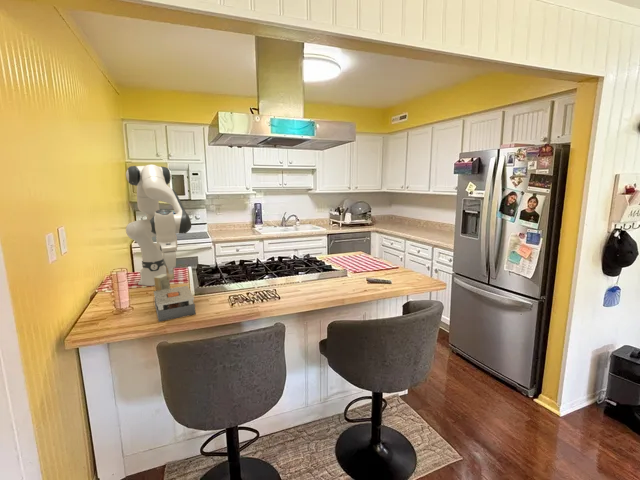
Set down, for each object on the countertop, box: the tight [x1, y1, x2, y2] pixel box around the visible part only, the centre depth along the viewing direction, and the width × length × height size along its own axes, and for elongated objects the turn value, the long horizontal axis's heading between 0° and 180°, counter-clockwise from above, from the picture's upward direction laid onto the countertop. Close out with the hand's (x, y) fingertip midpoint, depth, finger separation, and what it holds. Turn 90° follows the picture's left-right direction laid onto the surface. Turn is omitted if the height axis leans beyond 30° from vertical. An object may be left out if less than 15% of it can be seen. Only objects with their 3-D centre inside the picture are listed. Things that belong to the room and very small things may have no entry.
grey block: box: [165, 265, 175, 281], centre depth 163 cm, size 3×3×6 cm
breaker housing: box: [153, 285, 197, 323], centre depth 166 cm, size 20×16×8 cm
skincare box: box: [154, 274, 171, 291], centre depth 183 cm, size 6×4×12 cm
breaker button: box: [168, 292, 179, 297], centre depth 165 cm, size 5×5×4 cm
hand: (170, 272), depth 163 cm, fingers closed on grey block, 3 cm apart
